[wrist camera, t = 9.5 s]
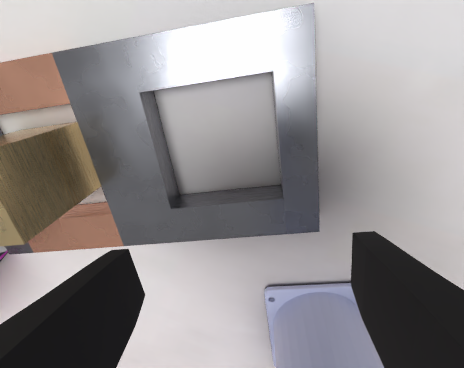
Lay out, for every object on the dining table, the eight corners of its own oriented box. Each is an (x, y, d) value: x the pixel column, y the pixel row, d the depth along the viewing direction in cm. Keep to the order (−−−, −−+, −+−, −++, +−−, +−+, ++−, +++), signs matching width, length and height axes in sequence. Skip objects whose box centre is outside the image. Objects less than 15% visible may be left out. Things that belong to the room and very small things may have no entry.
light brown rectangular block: (103, 183, 19) (24, 244, 12) (48, 189, 19) (-55, 250, 13) (81, 121, 17) (-26, 153, 11) (21, 130, 18) (-114, 166, 11)
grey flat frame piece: (313, 215, 18) (319, 231, 16) (31, 238, 21) (9, 254, 19) (306, 11, 13) (314, 2, 12) (-54, 78, 17) (-93, 80, 15)
